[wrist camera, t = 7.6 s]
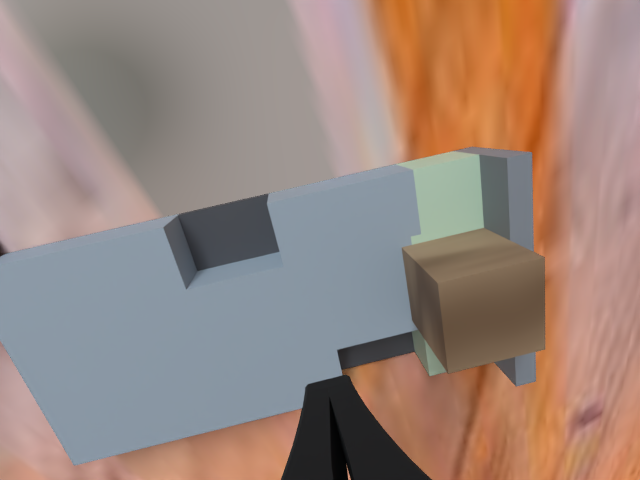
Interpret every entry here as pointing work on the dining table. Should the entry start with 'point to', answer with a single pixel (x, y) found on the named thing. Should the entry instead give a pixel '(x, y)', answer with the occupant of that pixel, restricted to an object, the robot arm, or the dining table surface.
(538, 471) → the dining table surface
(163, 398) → the board
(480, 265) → the walnut cube
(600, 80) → the dining table surface
